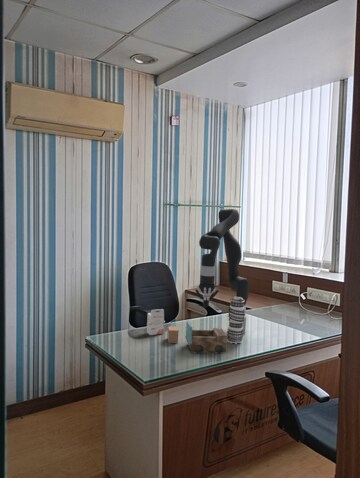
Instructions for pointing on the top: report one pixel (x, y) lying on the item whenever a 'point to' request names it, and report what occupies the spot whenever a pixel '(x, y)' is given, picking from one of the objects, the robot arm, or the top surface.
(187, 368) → the top surface
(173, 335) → the tapered tan wedge
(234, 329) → the patterned ribbed cylinder
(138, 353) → the top surface
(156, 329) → the ink cartridge box
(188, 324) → the tailgate
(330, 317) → the top surface
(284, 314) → the top surface
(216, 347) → the truck bed
